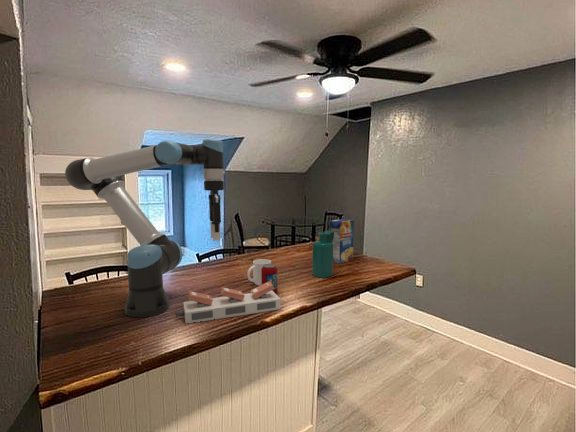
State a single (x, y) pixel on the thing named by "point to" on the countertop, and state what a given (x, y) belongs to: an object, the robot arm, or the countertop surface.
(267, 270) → the beverage can
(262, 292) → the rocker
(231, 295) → the rocker
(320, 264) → the green bottle
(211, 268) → the countertop surface
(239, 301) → the power strip
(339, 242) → the juice carton
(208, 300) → the block
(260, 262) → the mug
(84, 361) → the countertop surface
